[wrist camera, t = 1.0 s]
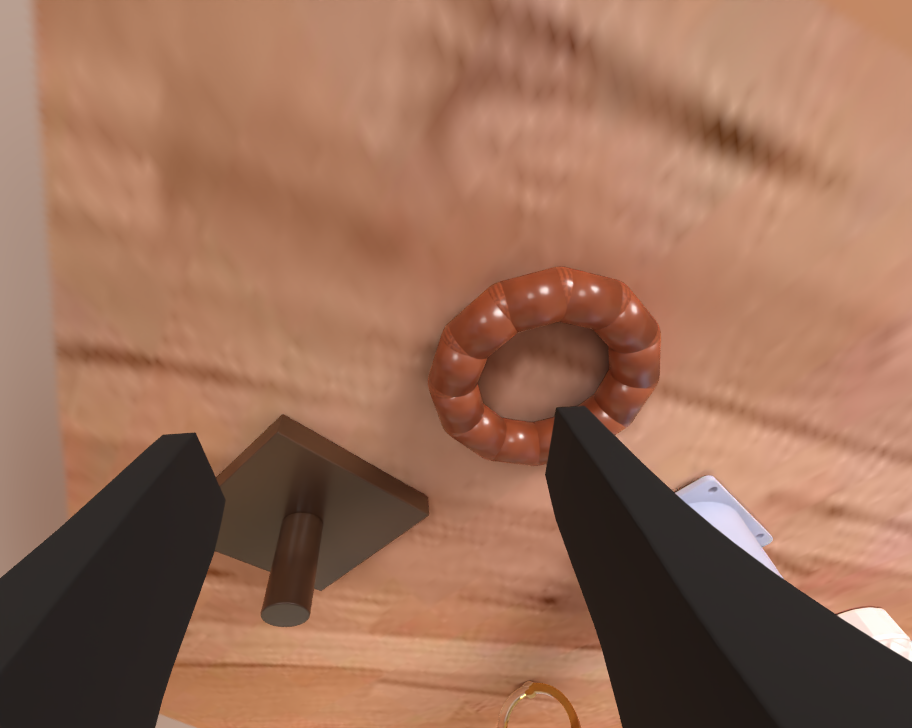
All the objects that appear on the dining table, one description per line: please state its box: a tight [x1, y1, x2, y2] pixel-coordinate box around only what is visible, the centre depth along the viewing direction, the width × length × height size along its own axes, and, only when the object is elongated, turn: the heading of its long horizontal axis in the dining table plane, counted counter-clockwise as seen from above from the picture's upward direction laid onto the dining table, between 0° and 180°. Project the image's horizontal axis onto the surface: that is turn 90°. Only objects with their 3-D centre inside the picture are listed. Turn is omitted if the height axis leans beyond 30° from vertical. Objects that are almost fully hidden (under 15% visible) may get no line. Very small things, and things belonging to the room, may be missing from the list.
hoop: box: [428, 267, 661, 466], centre depth 20 cm, size 10×10×2 cm
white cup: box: [837, 607, 912, 662], centre depth 37 cm, size 8×8×10 cm
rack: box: [215, 415, 429, 627], centre depth 22 cm, size 9×9×6 cm
